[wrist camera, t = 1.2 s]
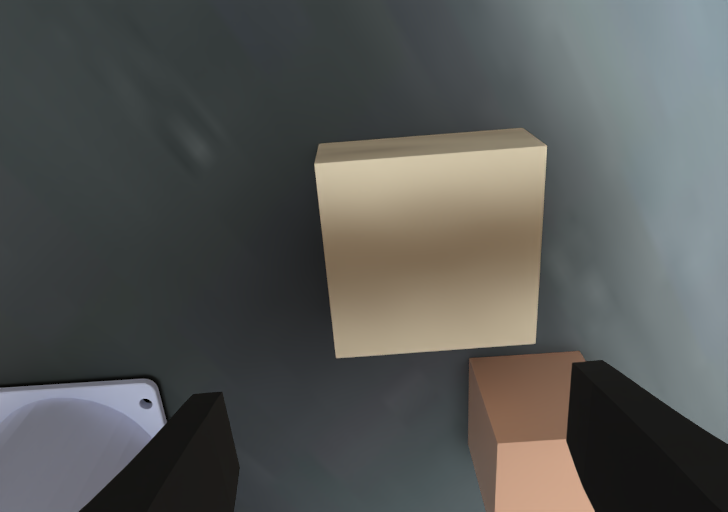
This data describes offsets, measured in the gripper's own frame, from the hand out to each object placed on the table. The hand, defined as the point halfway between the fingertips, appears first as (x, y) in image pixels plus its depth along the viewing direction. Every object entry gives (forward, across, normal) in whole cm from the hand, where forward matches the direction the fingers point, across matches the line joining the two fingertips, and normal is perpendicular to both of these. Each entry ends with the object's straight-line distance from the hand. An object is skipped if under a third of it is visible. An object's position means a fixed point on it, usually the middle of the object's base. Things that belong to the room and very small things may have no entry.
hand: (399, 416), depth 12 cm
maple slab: (+10, -2, 0) cm, 11 cm away
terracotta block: (+10, -6, +8) cm, 14 cm away
